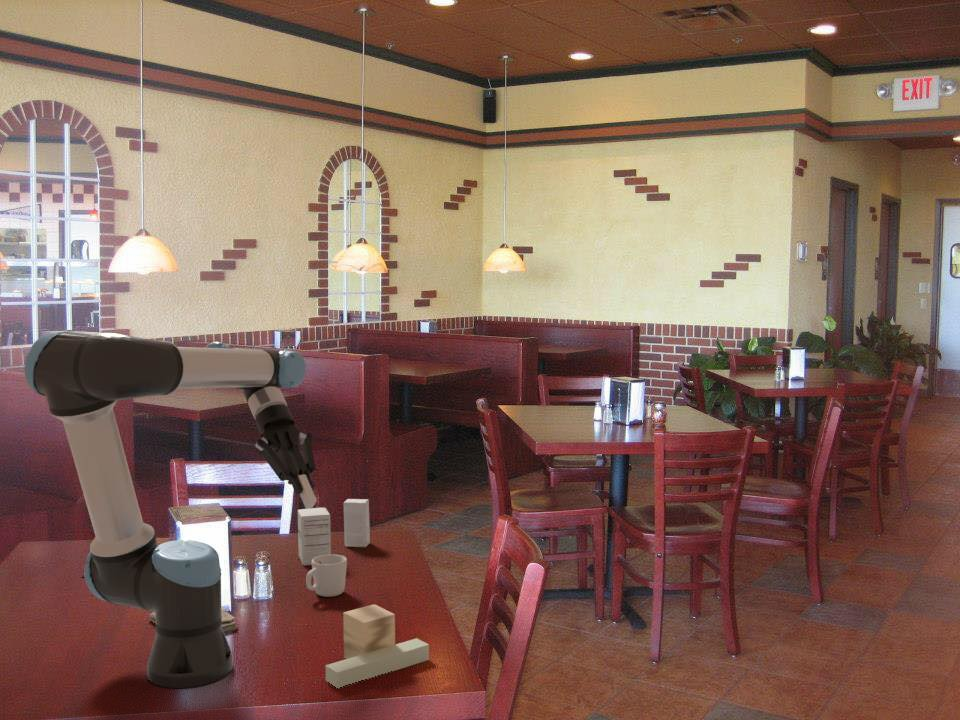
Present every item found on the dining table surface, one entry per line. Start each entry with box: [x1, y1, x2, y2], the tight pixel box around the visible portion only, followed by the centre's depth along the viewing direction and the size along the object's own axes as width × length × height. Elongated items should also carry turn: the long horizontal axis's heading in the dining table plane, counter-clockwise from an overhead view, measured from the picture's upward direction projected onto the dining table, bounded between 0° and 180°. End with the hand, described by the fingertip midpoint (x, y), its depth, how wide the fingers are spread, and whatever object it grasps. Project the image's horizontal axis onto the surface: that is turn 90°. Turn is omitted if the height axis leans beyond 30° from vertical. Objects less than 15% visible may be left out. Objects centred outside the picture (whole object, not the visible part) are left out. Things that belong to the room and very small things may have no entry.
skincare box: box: [342, 498, 371, 548], centre depth 261 cm, size 6×4×12 cm
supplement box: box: [297, 507, 332, 566], centre depth 247 cm, size 7×7×13 cm
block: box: [342, 604, 396, 659], centre depth 187 cm, size 7×7×9 cm
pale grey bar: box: [325, 637, 430, 689], centre depth 182 cm, size 20×4×3 cm, turn 129°
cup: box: [305, 553, 348, 598], centre depth 222 cm, size 11×8×8 cm
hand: (311, 504), depth 200 cm, fingers closed
